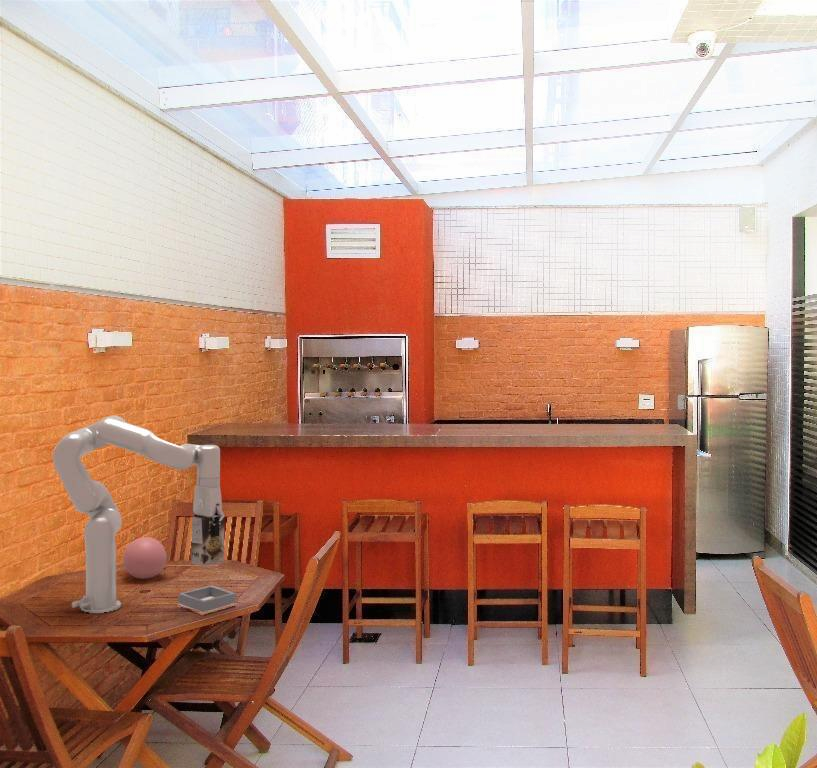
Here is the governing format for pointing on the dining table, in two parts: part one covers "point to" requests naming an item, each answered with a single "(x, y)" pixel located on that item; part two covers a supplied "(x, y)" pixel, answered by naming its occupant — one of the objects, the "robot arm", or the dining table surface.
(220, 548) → the coffee box
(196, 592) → the holder
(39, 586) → the dining table surface
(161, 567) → the balloon
